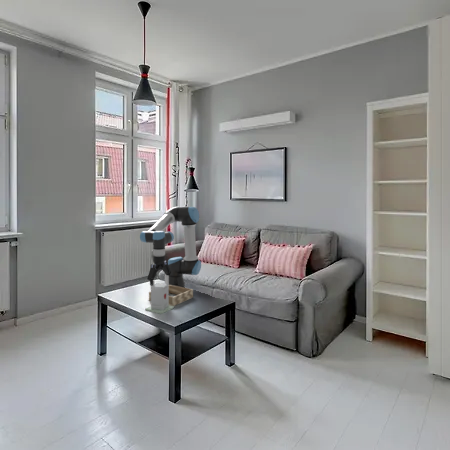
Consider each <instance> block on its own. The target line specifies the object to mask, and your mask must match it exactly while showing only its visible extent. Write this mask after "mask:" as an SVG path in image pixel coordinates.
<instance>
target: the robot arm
mask: <svg viewBox="0 0 450 450" xmlns="http://www.w3.org/2000/svg"><path fill="white" fill-rule="evenodd" d="M199 221H200V212H199V210H198V208H197V207H195V206H180V205H179V206H174V207H171V208H170V209H168V210H167V211H165V212H164V213H163V215H162V217H161V218H159V220H157V221H156V222H155V223H154V224H153V225H152V226H151V227H150V228H149V229H148V230H147V231H146V230H144V231H141V232H140V234H139V239H140V242H142V243H146V244H147V243H149V244H152V247H153V248H152V249H153V251H152V254H153V256H152V258H153V259H152V260H153V263H154V264H150V269H149V271H148V275H147V279H146V280H147V281H149V285H150V291H151V290H153V291H154V290H155V284H156V282H155V280H154V279H155V278H156V276H157V273H158V272H159V271H160V270H162V271H163V273H164V274H165V275H164V284H169V285H173V286H178V287H183V288H185V286H186V283H185V279H184V276H183V275H190V276H197V275H199V273H200V271H201V270H202V261H201V260H199V257H198V256H197V244H196V243H197V242H196V225H197V223H198V222H199ZM175 222H181V226H182V227H183V237H184V239H183V240H184V241H183V242H184V257H182V256H175V257H171V258H169V259H168V260H166V245H167V244H170V243H172V242H173V241H174V239H175V235H174V233H173V232H172V231H165V229H167V228H168V227H169V225H172V224H173V223H175Z"/></svg>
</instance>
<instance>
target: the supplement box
mask: <svg viewBox="0 0 450 450" xmlns="http://www.w3.org/2000/svg"><path fill="white" fill-rule="evenodd" d="M150 292H151V301H150V307H151V309H158V310H164V309H165V308H166V307H168V306H169V296H170V295H169V294H170V293H169V284H165V283H159V282H155V290H154V291H153V290H151V289H150Z"/></svg>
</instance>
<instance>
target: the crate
mask: <svg viewBox="0 0 450 450" xmlns="http://www.w3.org/2000/svg"><path fill="white" fill-rule="evenodd" d="M169 294H170V295H169V305H170V306H174V307H175V306H177V305H180V304H181V303H184V302H187V301H188V300H190V299H193V298H194V289H193V288H188V287H178V286H173V285H169ZM171 294H173V295H174V296H171ZM148 301H150V302H151V291H149V292H148Z"/></svg>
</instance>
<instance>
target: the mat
mask: <svg viewBox="0 0 450 450" xmlns="http://www.w3.org/2000/svg"><path fill="white" fill-rule="evenodd" d="M174 308H175V306H171V305H169V306H168V307H166V308H165V309H164V310H158V309H151V306H149V307H146V308H145V311H147V312H151V313H155V314H159V315H161V314H164V313H166V312H168V311H170V310H173V309H174Z"/></svg>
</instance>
